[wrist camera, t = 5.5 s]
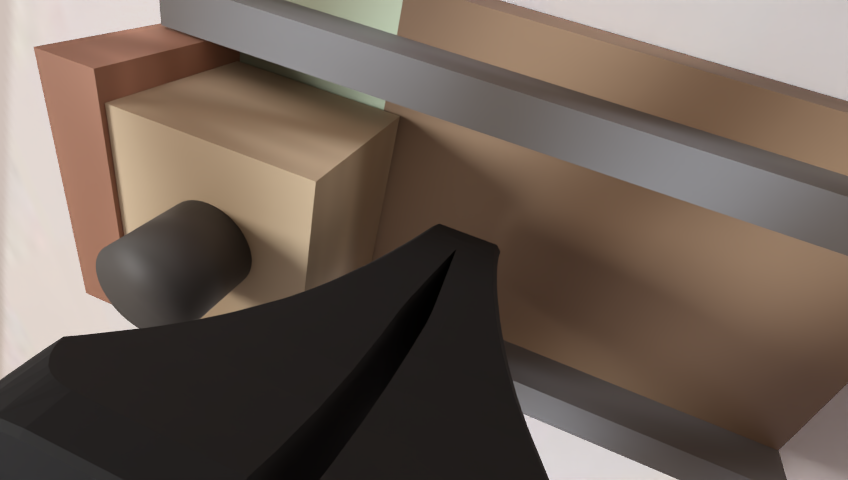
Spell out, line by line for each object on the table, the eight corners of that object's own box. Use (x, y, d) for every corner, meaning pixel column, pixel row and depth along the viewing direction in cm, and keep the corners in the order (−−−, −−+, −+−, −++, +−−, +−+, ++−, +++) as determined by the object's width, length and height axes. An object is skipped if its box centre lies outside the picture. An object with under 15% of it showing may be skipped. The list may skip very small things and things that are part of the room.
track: (1013, 149, 9) (1339, 329, 5) (727, 453, 14) (767, 665, 10) (219, -81, 11) (-7, -91, 7) (223, 247, 17) (91, 347, 13)
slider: (400, 116, 11) (255, 229, 7) (370, 268, 13) (248, 423, 9) (237, 60, 12) (11, 132, 7) (237, 215, 14) (64, 337, 10)
